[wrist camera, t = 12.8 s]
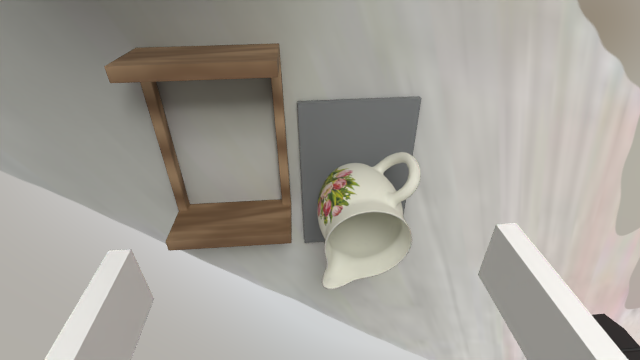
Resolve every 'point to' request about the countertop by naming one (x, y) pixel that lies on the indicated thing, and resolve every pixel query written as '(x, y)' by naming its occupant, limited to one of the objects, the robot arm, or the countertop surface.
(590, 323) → the robot arm
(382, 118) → the rubber mat
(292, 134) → the countertop surface
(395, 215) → the pitcher
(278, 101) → the walnut cradle
